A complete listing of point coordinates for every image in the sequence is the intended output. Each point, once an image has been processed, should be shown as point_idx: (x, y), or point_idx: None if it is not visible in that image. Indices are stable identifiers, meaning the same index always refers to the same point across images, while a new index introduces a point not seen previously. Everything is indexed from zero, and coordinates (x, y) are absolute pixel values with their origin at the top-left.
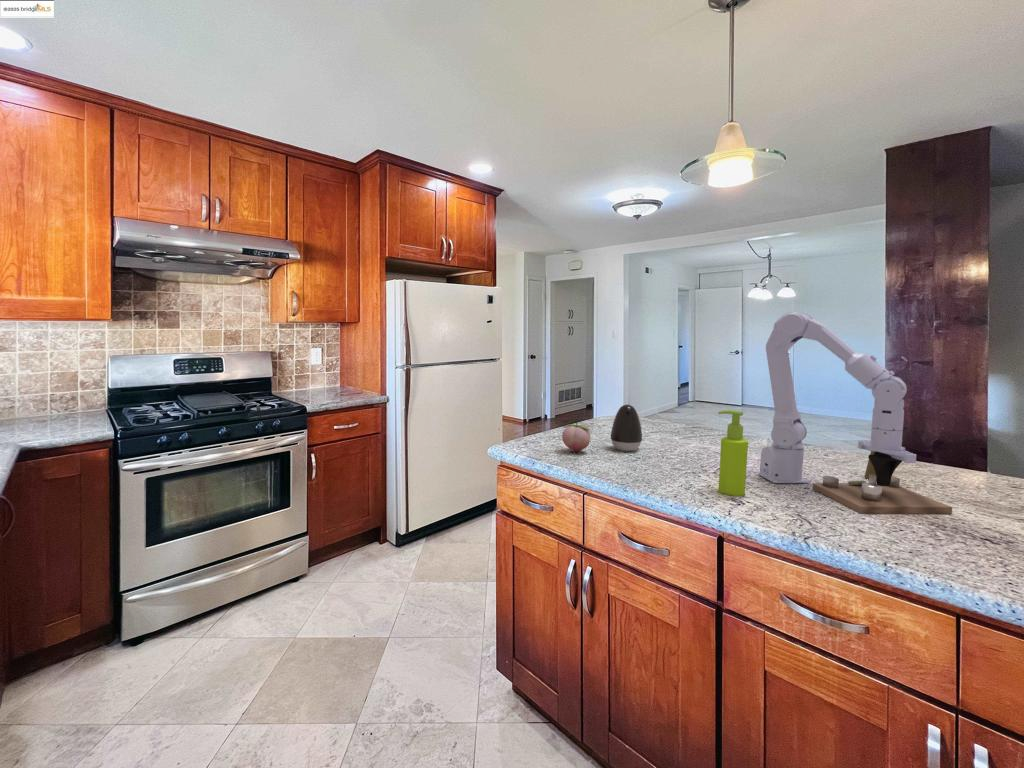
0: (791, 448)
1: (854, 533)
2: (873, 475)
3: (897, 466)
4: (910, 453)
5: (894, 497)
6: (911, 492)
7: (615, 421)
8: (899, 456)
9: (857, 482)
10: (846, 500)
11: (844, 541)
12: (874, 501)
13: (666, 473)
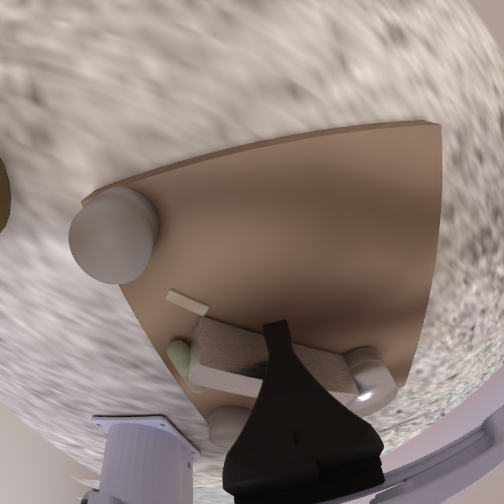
0: None
1: (455, 383)
2: (216, 378)
3: (339, 402)
4: (497, 463)
5: (340, 296)
6: (241, 174)
7: None
8: (438, 471)
9: None
10: None
11: (464, 390)
12: None
13: (204, 496)
